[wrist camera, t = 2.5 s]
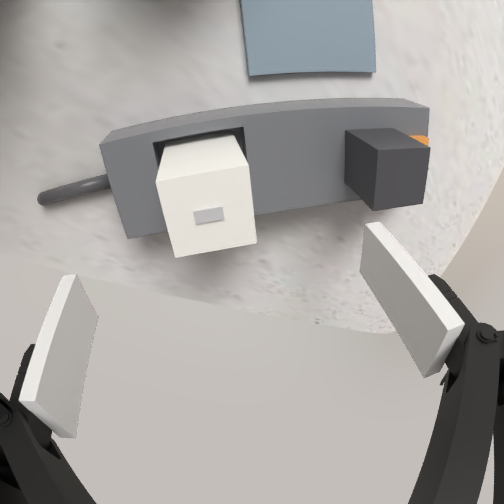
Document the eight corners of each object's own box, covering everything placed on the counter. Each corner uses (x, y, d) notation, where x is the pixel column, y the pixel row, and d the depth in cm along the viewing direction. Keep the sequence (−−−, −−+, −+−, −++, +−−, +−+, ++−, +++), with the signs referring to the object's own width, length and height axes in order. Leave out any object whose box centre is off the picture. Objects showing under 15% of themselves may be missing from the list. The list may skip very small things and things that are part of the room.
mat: (248, 75, 23) (249, 75, 22) (234, -47, 16) (235, -49, 16) (372, 71, 24) (375, 72, 23) (364, -39, 17) (367, -41, 17)
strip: (55, 233, 27) (22, 295, 20) (27, 158, 22) (-25, 204, 15) (398, 174, 30) (453, 218, 23) (403, 98, 25) (468, 124, 18)
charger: (178, 200, 26) (175, 259, 19) (166, 142, 23) (155, 182, 16) (238, 189, 26) (257, 244, 20) (231, 130, 23) (249, 166, 17)
